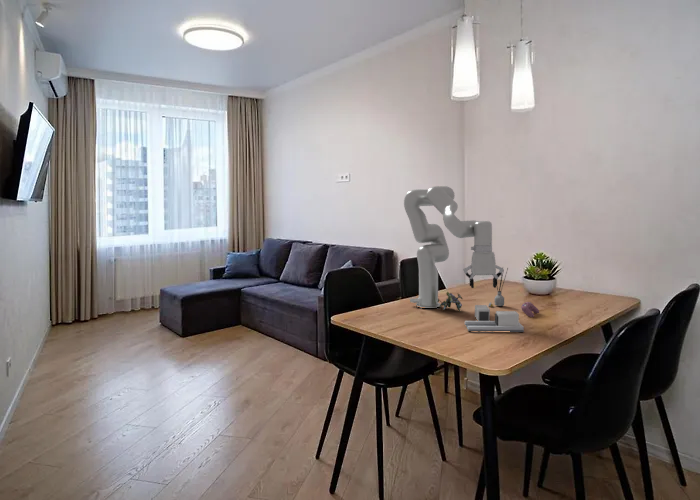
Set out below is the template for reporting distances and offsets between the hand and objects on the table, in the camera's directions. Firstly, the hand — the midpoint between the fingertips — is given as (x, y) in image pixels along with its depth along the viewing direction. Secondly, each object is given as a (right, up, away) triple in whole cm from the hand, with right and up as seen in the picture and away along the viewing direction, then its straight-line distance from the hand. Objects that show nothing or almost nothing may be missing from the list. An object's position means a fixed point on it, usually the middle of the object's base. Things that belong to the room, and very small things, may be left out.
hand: (483, 287), depth 199 cm
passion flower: (-10, -13, +19) cm, 26 cm away
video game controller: (+24, -14, +9) cm, 30 cm away
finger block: (0, -15, +2) cm, 15 cm away
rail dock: (+1, -16, -12) cm, 20 cm away
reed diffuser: (+16, -12, +25) cm, 32 cm away
